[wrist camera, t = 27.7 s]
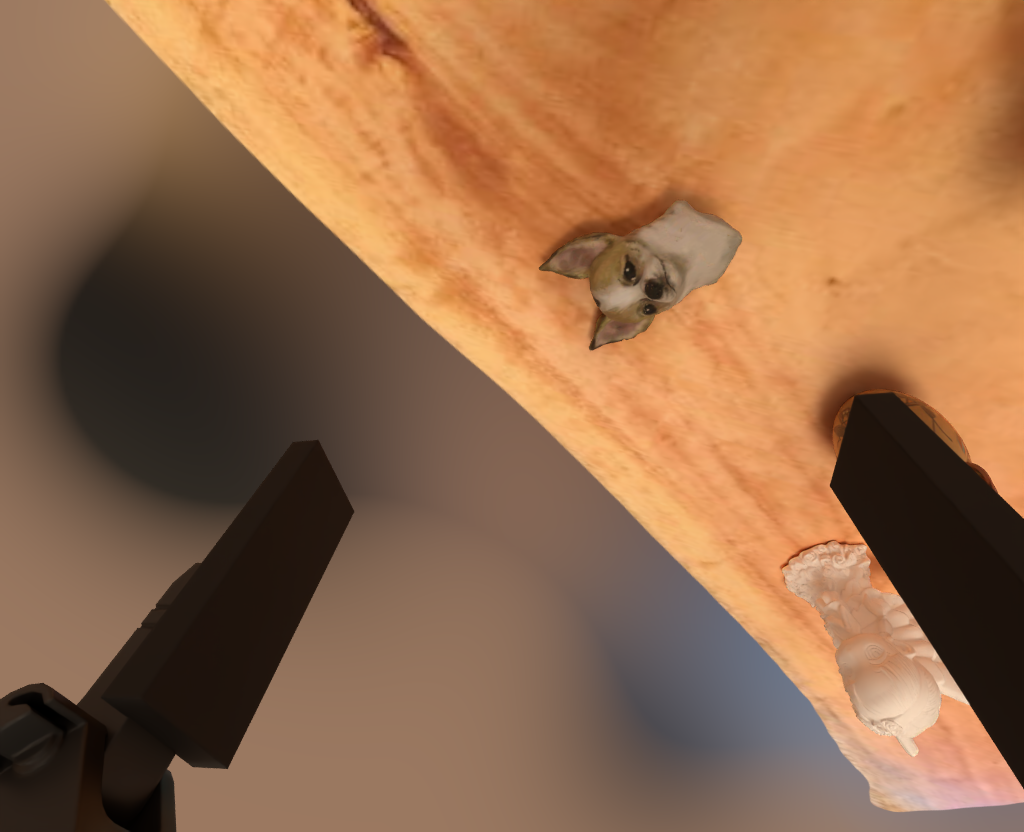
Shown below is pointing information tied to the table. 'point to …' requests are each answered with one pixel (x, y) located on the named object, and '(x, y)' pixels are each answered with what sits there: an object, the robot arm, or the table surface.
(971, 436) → the table surface
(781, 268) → the table surface
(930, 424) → the ceramic vessel
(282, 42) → the table surface
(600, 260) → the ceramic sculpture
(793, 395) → the table surface
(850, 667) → the cherub figurine
